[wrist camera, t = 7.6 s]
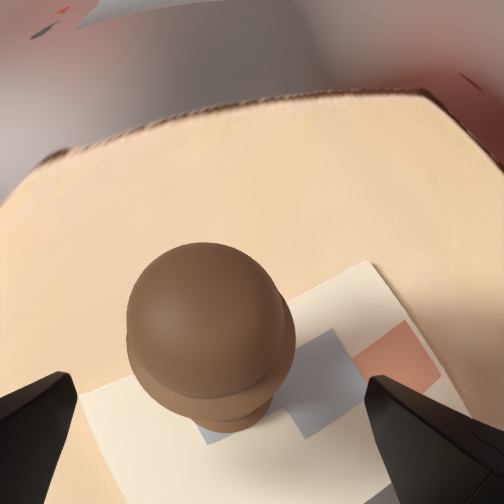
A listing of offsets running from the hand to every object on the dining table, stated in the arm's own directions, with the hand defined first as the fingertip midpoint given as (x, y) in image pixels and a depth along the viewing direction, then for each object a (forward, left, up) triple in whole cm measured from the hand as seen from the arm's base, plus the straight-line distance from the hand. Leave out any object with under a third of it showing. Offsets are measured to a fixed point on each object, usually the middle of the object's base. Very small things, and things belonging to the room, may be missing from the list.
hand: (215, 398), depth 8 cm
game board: (-7, -3, -10) cm, 13 cm away
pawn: (+1, -1, -8) cm, 8 cm away
